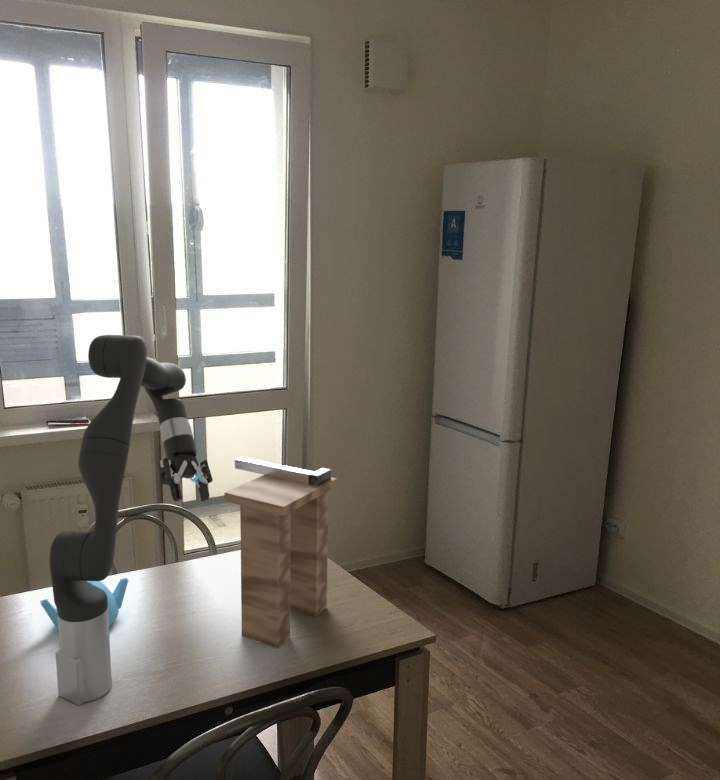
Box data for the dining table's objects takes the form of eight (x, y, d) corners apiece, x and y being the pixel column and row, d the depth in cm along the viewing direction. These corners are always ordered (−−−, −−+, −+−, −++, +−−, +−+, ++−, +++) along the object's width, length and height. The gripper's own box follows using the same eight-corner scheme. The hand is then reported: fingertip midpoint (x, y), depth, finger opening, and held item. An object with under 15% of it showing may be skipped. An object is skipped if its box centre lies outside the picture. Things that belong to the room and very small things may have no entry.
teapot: (134, 610, 172) (132, 569, 170) (103, 643, 158) (101, 599, 156) (75, 604, 174) (72, 564, 172) (40, 637, 160) (36, 593, 158)
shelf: (283, 651, 156) (283, 506, 149) (226, 631, 164) (224, 492, 157) (334, 609, 175) (337, 478, 168) (281, 592, 183) (281, 466, 176)
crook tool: (317, 486, 162) (317, 476, 162) (234, 468, 174) (234, 459, 173) (330, 479, 168) (330, 469, 167) (249, 462, 179) (249, 453, 178)
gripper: (164, 431, 169) (179, 494, 163) (209, 435, 181) (224, 494, 175) (145, 443, 173) (158, 506, 167) (190, 446, 184) (204, 505, 178)
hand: (192, 500), depth 171 cm, fingers open, 8 cm apart
